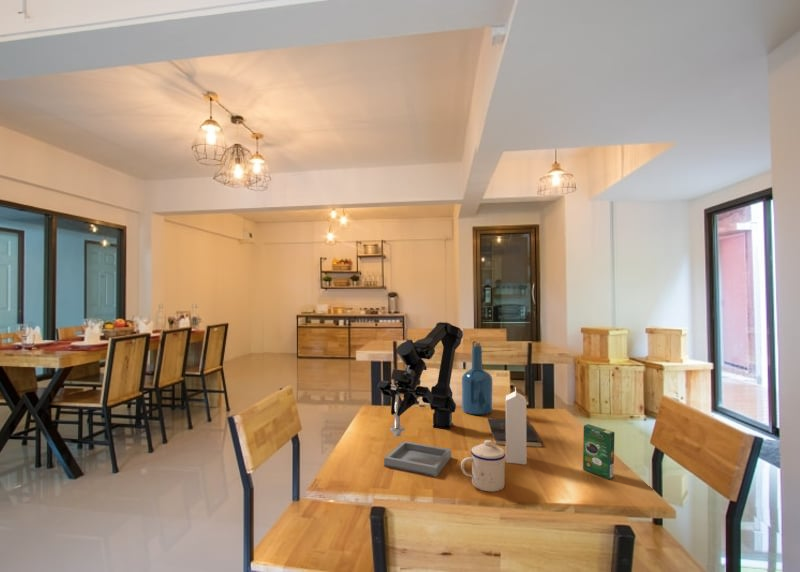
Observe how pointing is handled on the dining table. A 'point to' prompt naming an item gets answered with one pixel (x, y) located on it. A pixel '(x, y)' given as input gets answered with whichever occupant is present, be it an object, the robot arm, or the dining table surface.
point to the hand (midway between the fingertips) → (394, 415)
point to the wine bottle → (477, 386)
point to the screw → (397, 419)
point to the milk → (515, 428)
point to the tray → (418, 458)
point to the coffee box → (598, 451)
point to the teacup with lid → (486, 466)
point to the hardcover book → (500, 433)
